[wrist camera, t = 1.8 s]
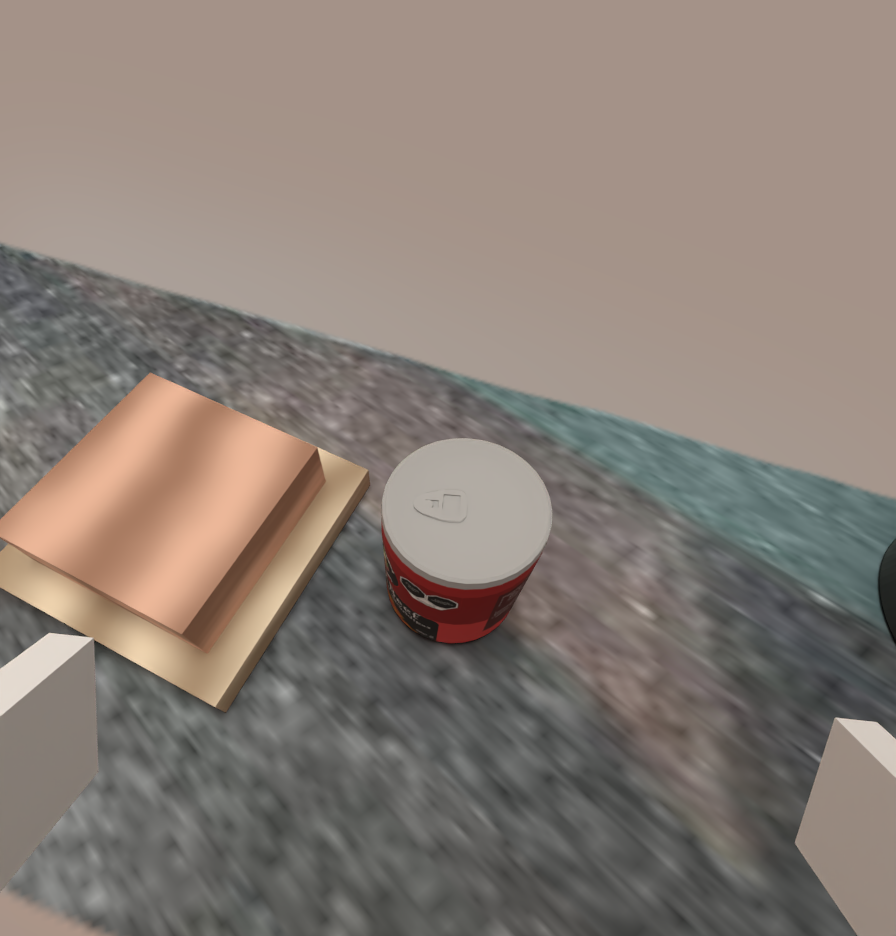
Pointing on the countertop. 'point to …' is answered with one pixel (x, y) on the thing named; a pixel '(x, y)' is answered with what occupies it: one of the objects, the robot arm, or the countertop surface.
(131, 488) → the stand
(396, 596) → the canned food
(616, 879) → the countertop surface
